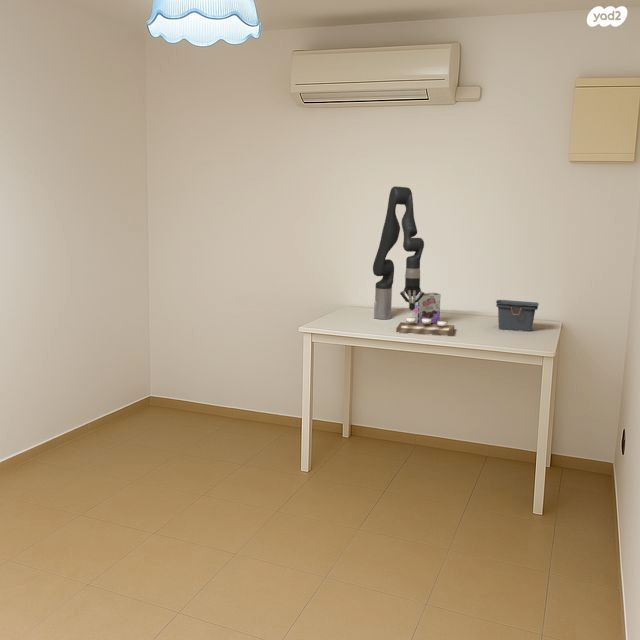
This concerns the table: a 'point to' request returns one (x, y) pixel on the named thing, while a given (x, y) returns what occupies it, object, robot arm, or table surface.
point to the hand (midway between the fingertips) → (411, 310)
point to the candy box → (427, 307)
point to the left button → (410, 320)
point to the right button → (442, 323)
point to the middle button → (426, 320)
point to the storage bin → (516, 314)
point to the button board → (425, 329)
